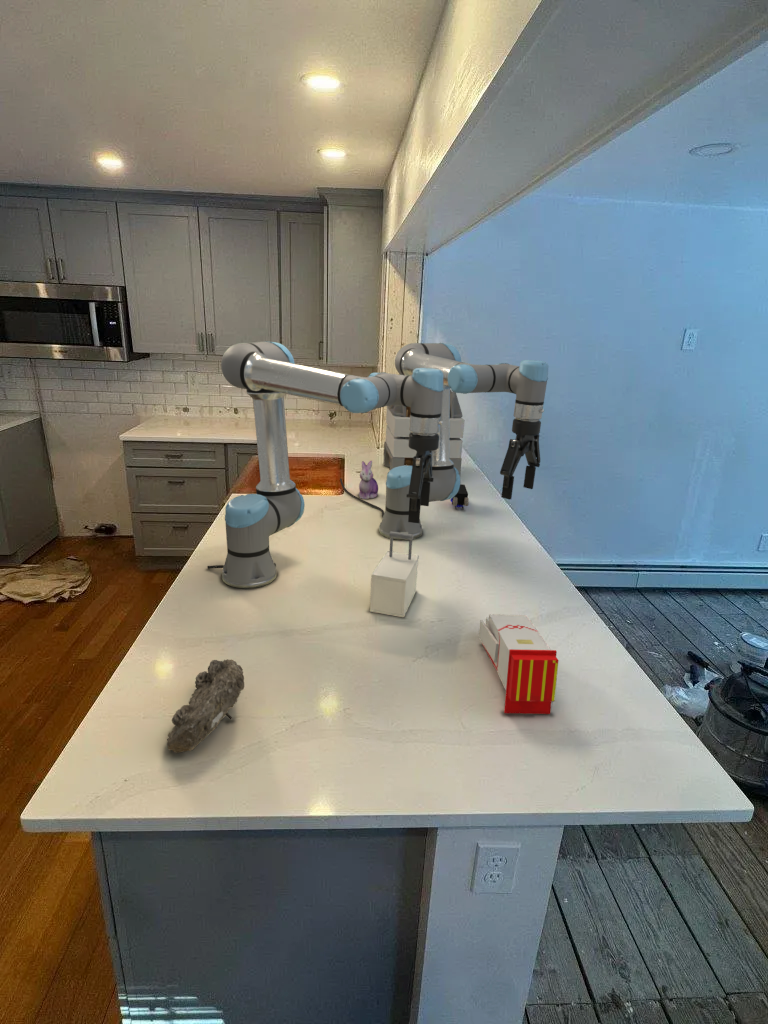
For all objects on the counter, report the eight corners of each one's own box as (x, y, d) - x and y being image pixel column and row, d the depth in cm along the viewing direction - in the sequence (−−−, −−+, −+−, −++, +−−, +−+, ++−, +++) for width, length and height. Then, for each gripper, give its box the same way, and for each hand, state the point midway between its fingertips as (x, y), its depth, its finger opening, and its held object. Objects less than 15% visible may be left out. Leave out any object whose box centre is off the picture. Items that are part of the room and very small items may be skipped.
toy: (524, 600, 137) (567, 656, 108) (520, 651, 140) (560, 720, 111) (474, 599, 137) (504, 655, 107) (471, 650, 140) (498, 719, 110)
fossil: (192, 660, 117) (244, 628, 112) (224, 691, 120) (276, 661, 115) (142, 746, 98) (202, 712, 93) (182, 779, 101) (242, 748, 96)
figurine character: (468, 514, 225) (463, 498, 239) (470, 497, 222) (465, 482, 235) (451, 514, 225) (447, 498, 238) (453, 497, 222) (449, 481, 235)
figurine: (363, 500, 232) (364, 465, 227) (352, 493, 240) (353, 459, 235) (383, 498, 236) (385, 463, 231) (372, 491, 244) (373, 457, 239)
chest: (384, 586, 162) (386, 554, 158) (415, 591, 160) (418, 559, 156) (369, 611, 148) (371, 577, 145) (403, 617, 146) (405, 583, 143)
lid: (387, 553, 159) (388, 526, 156) (418, 558, 157) (420, 531, 154) (371, 577, 145) (372, 548, 142) (405, 582, 143) (407, 553, 140)
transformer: (382, 463, 289) (386, 382, 275) (445, 464, 293) (451, 384, 279) (390, 482, 257) (394, 392, 243) (460, 483, 261) (468, 394, 247)
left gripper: (430, 445, 128) (424, 532, 135) (446, 425, 151) (440, 500, 158) (398, 441, 130) (393, 528, 137) (418, 422, 152) (414, 497, 160)
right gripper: (519, 427, 143) (508, 506, 151) (558, 415, 162) (548, 486, 169) (492, 422, 148) (484, 499, 155) (534, 412, 166) (525, 481, 173)
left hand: (418, 513), depth 147 cm, fingers open, 13 cm apart
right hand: (517, 493), depth 162 cm, fingers open, 13 cm apart
